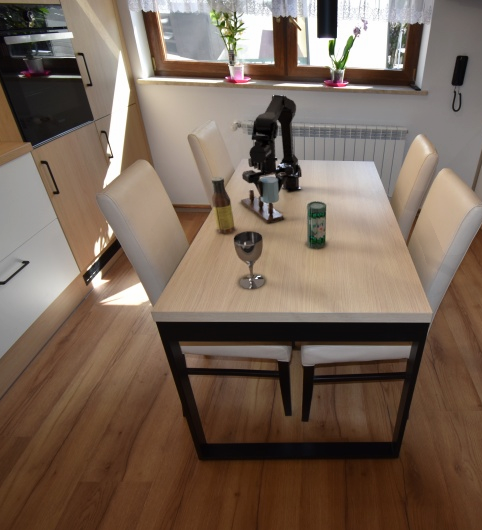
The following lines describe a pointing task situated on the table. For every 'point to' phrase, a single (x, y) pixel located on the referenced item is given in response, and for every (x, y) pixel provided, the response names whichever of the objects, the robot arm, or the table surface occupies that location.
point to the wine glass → (249, 255)
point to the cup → (270, 190)
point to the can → (316, 224)
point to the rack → (261, 208)
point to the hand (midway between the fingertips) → (269, 194)
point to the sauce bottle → (222, 206)
